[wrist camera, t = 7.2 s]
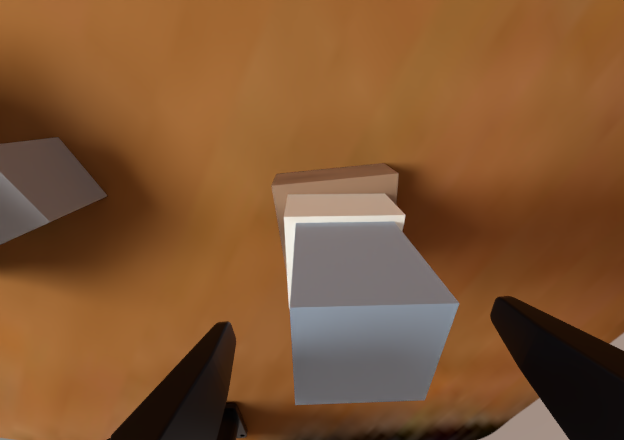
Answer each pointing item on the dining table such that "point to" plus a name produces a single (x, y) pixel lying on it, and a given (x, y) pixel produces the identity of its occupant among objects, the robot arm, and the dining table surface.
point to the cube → (40, 185)
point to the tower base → (332, 186)
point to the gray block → (364, 314)
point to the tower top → (334, 215)
